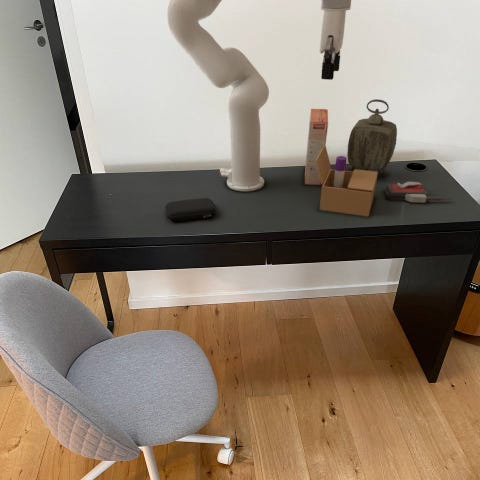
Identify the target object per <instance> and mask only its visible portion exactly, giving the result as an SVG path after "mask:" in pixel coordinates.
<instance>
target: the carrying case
mask: <svg viewBox="0 0 480 480" xmlns="http://www.w3.org/2000/svg"><path fill="white" fill-rule="evenodd" d="M164 209H165V212H166V216H167V219H168V220H170V221H172V222H182V221H190V220H198V219H207V218H211V217H214V216H215V215H216V214H217V208H216V206H215V204H214V201H213V200H212V199H211V198H209V197H200V198H191V199H184V200H183V199H182V200H181V199H180V200H174V201H169V202H167V203H166V205H165V206H164Z"/></svg>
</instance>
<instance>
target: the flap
mask: <svg viewBox="0 0 480 480" xmlns="http://www.w3.org/2000/svg"><path fill="white" fill-rule="evenodd" d="M326 145H327V144H326ZM326 145H324V146H323V148H322V150H321V151H320V153H319V155H318V157H317V159H316V161H315V162H316V166H317V169H318V173H319V177H320V181H321V185H323V183H324V181H325V179H326V177H327V175H328V173H329V170H330V169H331V168H332V166H331V161H330V158H329V154H328V149H327V146H326Z"/></svg>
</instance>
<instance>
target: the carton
mask: <svg viewBox="0 0 480 480" xmlns="http://www.w3.org/2000/svg"><path fill="white" fill-rule="evenodd" d="M334 175H335V168H330V170H329V172H328V174H327V176H326V178H325V180H324V182H323V184H321V190H320V191H321V192H320V201H319V202H320V203H319V211H326V212H334V213H341V214H347V215H356V216H360V217H361V216H363V217H369V216H370V213H371V209H372V205H373V201H374V198H375V192H376V185H377V180H378V177H379V176H378V175H379V172H378V171H375V170H368V171H366V169H357V168H356V169H354V170H345V173H344V181H343V189H342V188H334V187H333V184H334Z"/></svg>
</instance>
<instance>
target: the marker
mask: <svg viewBox="0 0 480 480" xmlns="http://www.w3.org/2000/svg"><path fill="white" fill-rule="evenodd" d="M347 160H348V157H347V156H343V155H339V156H336V159H335V165H334V166H335V167H334V169H335V175H334V184H333V187H334V188H342V189H343V181H344V173H345V171H346V165H347Z"/></svg>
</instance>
